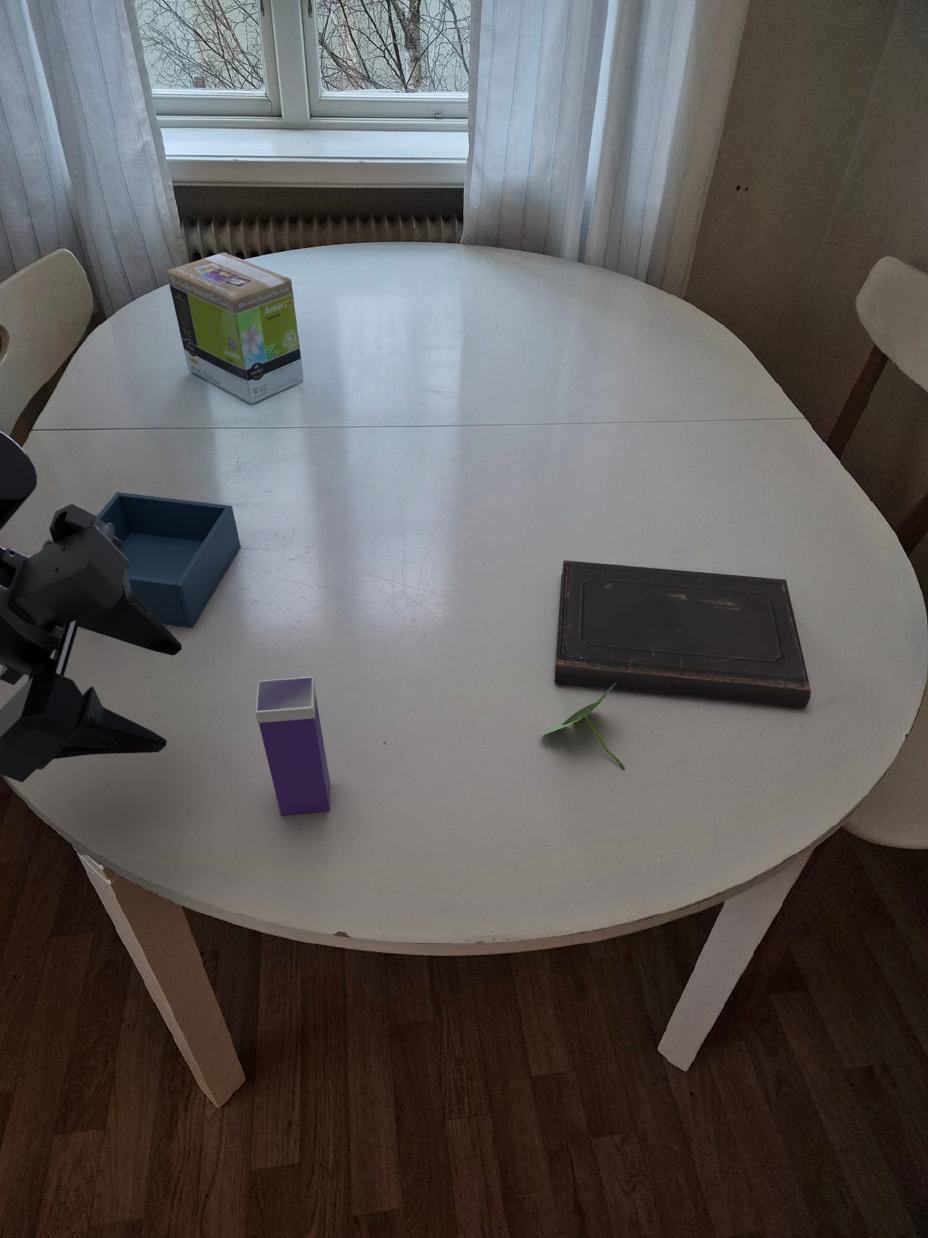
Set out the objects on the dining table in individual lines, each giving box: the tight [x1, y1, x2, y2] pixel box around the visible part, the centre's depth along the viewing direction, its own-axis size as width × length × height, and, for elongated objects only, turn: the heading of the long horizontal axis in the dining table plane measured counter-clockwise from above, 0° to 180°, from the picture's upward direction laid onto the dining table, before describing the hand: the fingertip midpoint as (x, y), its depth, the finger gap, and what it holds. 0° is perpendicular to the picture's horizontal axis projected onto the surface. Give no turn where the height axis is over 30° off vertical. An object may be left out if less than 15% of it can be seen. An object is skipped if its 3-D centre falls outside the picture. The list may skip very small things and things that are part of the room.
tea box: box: [166, 251, 304, 404], centre depth 119 cm, size 15×10×15 cm
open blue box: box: [96, 491, 242, 628], centre depth 90 cm, size 13×13×6 cm
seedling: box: [540, 683, 626, 770], centre depth 75 cm, size 7×8×6 cm
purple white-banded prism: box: [254, 676, 331, 816], centre depth 67 cm, size 4×3×13 cm
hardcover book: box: [553, 559, 812, 708], centre depth 85 cm, size 16×23×2 cm
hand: (171, 696), depth 62 cm, fingers open, 9 cm apart
